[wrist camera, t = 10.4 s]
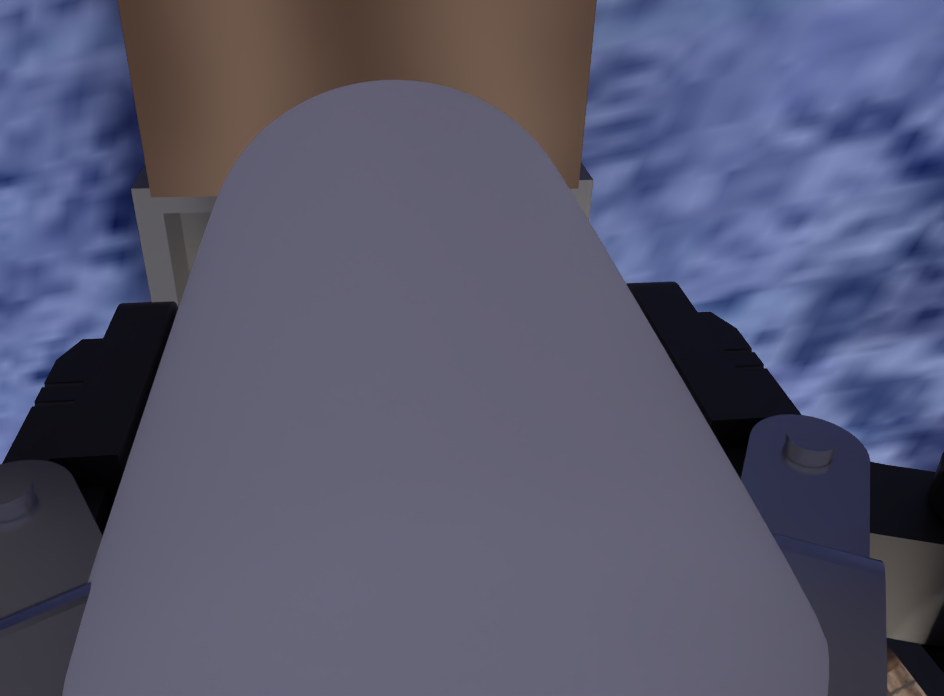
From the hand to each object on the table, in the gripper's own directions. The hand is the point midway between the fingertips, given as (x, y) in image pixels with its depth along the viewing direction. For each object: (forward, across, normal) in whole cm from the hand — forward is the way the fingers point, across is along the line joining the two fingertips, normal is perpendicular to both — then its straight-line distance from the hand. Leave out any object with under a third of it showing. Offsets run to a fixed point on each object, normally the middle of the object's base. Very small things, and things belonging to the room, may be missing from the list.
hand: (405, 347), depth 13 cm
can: (+3, 0, 0) cm, 3 cm away
